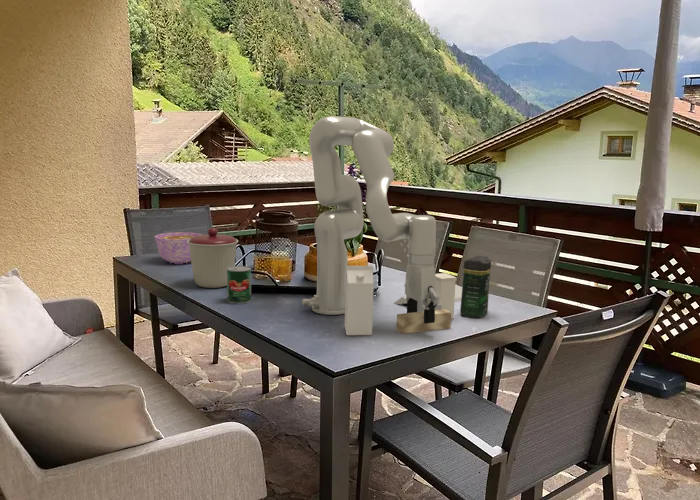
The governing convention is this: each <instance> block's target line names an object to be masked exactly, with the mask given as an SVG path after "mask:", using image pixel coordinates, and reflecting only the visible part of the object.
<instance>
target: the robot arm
mask: <svg viewBox="0 0 700 500" xmlns="http://www.w3.org/2000/svg"><path fill="white" fill-rule="evenodd" d="M308 143H309V150H310V155H311V160H312V168H313V169H312V170H313V179H314V181H313V182H314V189H315V196H316V200H317V202H318V203H319V204H320V205H322V206H324V207H336V208H337V209H335V210H334V209H333V210H328V211H324V212H322V213H321V214H319V215H318V217H316V219H315V220H314V228H313V229H314V235H315V241H316V252H317V253H316V259H317V260H316V263H317V266H316V294H314V295H313V297H311V298H303V299H301V304H302V306H308V307H311V310H312V312H314V313H316V314H320V315H326V316H328V315H329V316H331V315H332V316H334V315H335V316H336V315H337V316H338V315H339V316H340V315H345V289H346V272H347V266H348V262H349V261H348V256H349V255H348V250H347V246H346V244H345V241H344V240H349V239H352V238H353V239H354V238H356V237H358V236H359V235H360V234H362V231H363V228H364V209H363V199H362V198H363V197H362V191H361V190H362V189H361V186H360V184H359V182H358V181H357V180H356V178H355V177H353V176H352V175H349V174H342V165H341V158H340V156H339V154H338V152H337V150H336V148H335V147H336V146H351V147H352V151H353V154H354V156H355V158H356V161H357V164H358V166H359V169H360V172H361V174H362V176H363V179H364V182H365V185H366V194H365V209H366V214H367V217H368V220H369V223H370V226H371V227H372V229H373V231H374V233H375V235H376V236H377V238H379V239H380V240H381V241H383V242H389V243H390V242H395V241H400V240H405V239H408V247H407V248H408V254H407V256H408V257H407V258H408V259H407V261H408V262H407V266H406V271H405V283H404V294H405V296H407V297H406V300H407V304H406V313H413V312H417V301H419V302H422V301H423V303H424V305H425V308H426V309H424V323H425V324H427V323H434V322H435V309H436V306H437V304H438V303H437V302H438V299H439V296H438V295H437V293H436V278H435V274H436V268H435V266H436V244H437V243H436V241H437V238H436V234H437V221H436V218H435V217H434V216H432V215H427V214H426V215H425V214H423V215H422V214H418V215H417V214H414V213H413V214H412V213H409V212H398V213H396V212H395V213H392V211H391V208H390V206H389V203H388V195H387V193H388V189H389V187H390V185H391V184H392V182H394V179H395V172H394V171H393V168H392V165H391V163H390V161H389V158H388V157H389V156H391V155H392V153H393V151H394V146H395V143H394V140H393V137H392V135H390V134H389V132H387V130H384V129H383V128H380V127H377V126H375V125H372V124H371V123H369V122H367V121H365V120H362V119H359V118H357V117H350V116H340V115H339V116H337V115H330V116H324V117H322V118H320V119H318V120H317V121H316V122H315V123H314V124H313V126H312V127H311V130H310V133H309V137H308ZM428 302H430V303H429V305H428Z"/></svg>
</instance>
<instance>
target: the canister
mask: <svg viewBox="0 0 700 500" xmlns="http://www.w3.org/2000/svg"><path fill="white" fill-rule="evenodd" d="M187 243H188V244H189V249H190V256H191V261H190V263H191V271H192V275H193V281H194V283H195V284H196V285H197V286H198V287H201V288H205V289H217V288H224V287H227V268H228V267H232V266H236V265H235V261H236V253H237V244H238V243H239V240H238V239H237V238H235V237H234V236H232V235H229V234H228V235H227V234H222V233H221V234H219V233H218V229H217V228H215V227H210V228H208V230H207V234H202V235H198V236H194V237H192V238H191V239H190V240H188V241H187Z"/></svg>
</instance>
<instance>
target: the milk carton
mask: <svg viewBox="0 0 700 500" xmlns="http://www.w3.org/2000/svg"><path fill="white" fill-rule="evenodd" d="M373 267H374V266H373V265H347V272H346V289H345V314H344V330H345V333H346V334H345V335H346V336H372V335H373V318H374V317H373V313H374V310H373V309H374V285H375V284H374V274H373V273H374V272H373Z"/></svg>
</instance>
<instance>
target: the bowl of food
mask: <svg viewBox="0 0 700 500" xmlns="http://www.w3.org/2000/svg"><path fill="white" fill-rule="evenodd" d="M198 235H203V234H201V233H199V232H187V231H186V232H183V231H181V232H180V231H179V232H178V231H177V232H165V233H159V234H156V235H154V239H155V243H156V247H157V250H158V252H159V253H158V254H159V255H160V257H161V258H162V259H163V260H165V261H166V262H169V263H170V264H172V263H174V265H184V264H183V263H186V264H189V263H191V256H190V249H189V244H188V243H187V241H188V240H190V239H191V238H192V237H194V236H198ZM188 262H189V263H188Z"/></svg>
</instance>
